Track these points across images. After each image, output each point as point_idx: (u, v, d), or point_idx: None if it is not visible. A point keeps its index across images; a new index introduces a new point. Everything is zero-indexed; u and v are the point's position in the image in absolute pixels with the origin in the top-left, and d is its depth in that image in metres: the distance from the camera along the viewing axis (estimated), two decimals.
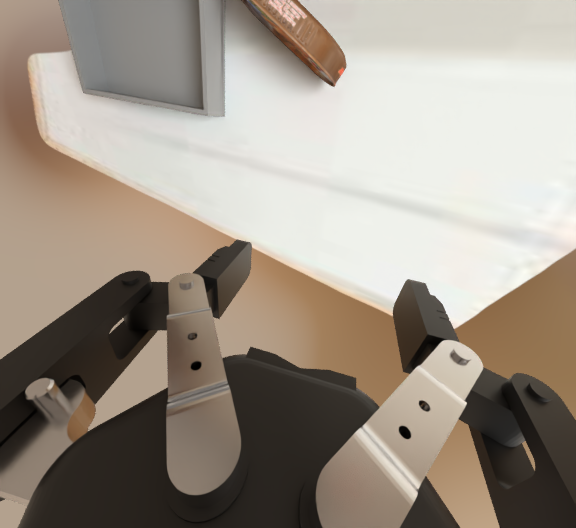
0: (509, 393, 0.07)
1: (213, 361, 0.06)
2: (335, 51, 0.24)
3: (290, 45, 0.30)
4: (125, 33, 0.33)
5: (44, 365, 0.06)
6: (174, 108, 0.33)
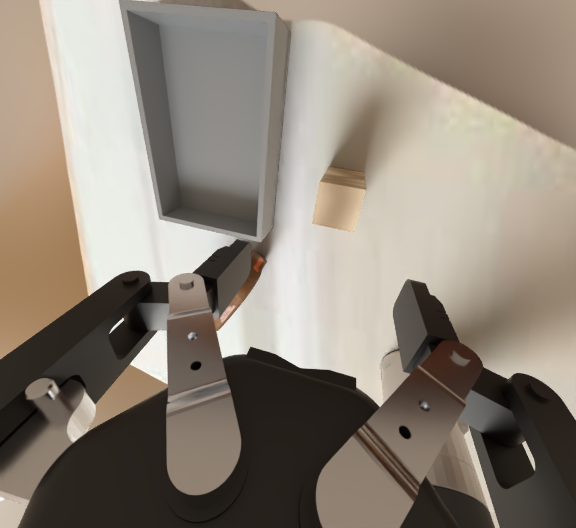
0: (509, 393, 0.07)
1: (214, 361, 0.06)
2: None
3: None
4: (226, 94, 0.25)
5: (44, 365, 0.06)
6: (153, 179, 0.28)
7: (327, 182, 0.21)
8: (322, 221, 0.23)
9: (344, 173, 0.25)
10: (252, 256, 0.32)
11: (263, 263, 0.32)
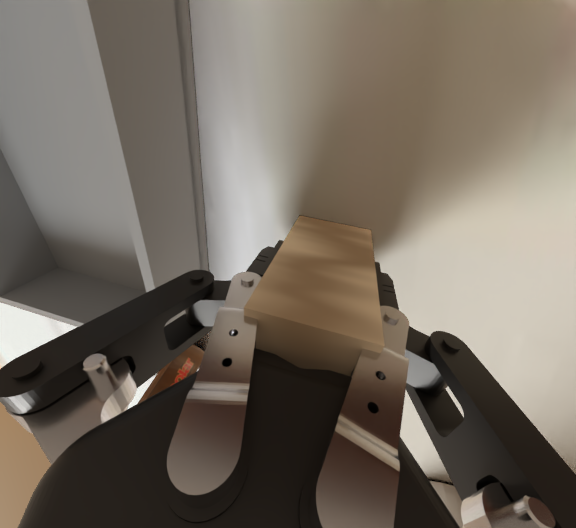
0: (431, 353, 0.08)
1: (244, 364, 0.06)
2: None
3: None
4: (66, 63, 0.11)
5: (105, 341, 0.06)
6: None
7: (267, 309, 0.07)
8: None
9: (327, 241, 0.11)
10: (169, 364, 0.18)
11: (191, 373, 0.18)
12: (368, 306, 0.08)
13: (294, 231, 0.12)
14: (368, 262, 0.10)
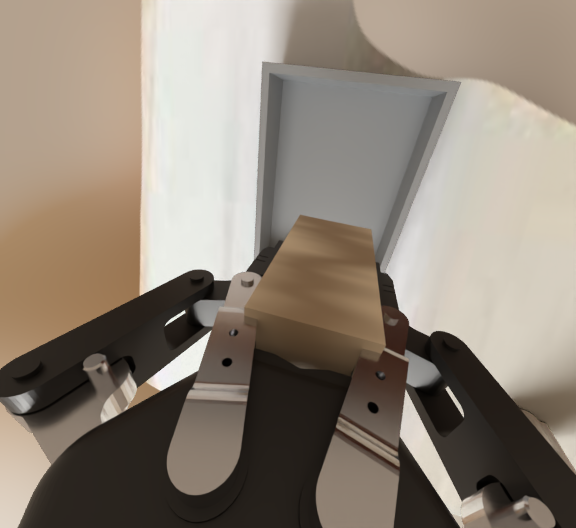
0: (431, 353, 0.08)
1: (244, 364, 0.06)
2: None
3: None
4: (350, 151, 0.23)
5: (105, 341, 0.06)
6: (256, 239, 0.26)
7: (267, 308, 0.07)
8: None
9: (328, 241, 0.11)
10: None
11: None
12: (369, 305, 0.08)
13: (294, 230, 0.12)
14: (369, 261, 0.10)
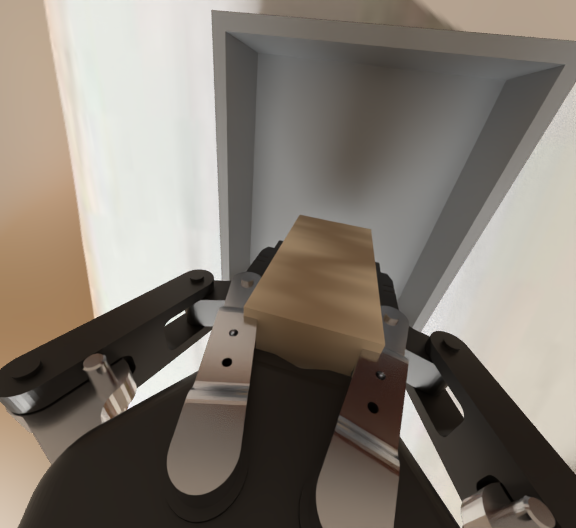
0: (431, 353, 0.08)
1: (244, 364, 0.06)
2: None
3: None
4: (362, 166, 0.15)
5: (105, 341, 0.06)
6: None
7: (266, 308, 0.07)
8: None
9: (327, 241, 0.11)
10: None
11: None
12: (368, 305, 0.08)
13: (294, 230, 0.12)
14: (368, 261, 0.10)
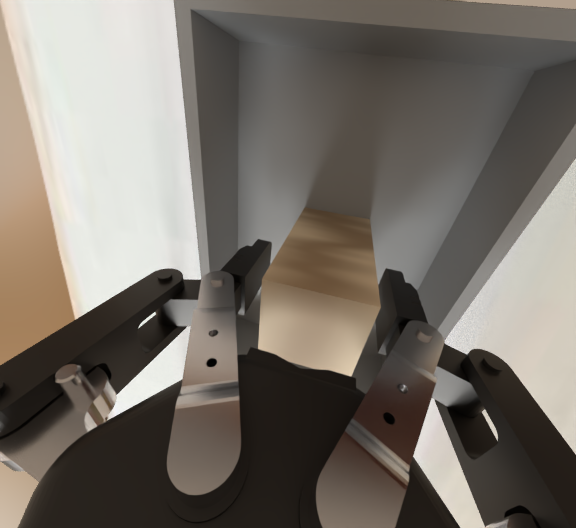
0: (468, 369, 0.07)
1: (229, 361, 0.06)
2: None
3: None
4: (361, 172, 0.13)
5: (76, 351, 0.06)
6: None
7: (281, 280, 0.08)
8: (279, 352, 0.10)
9: (330, 229, 0.12)
10: None
11: None
12: (367, 279, 0.09)
13: (300, 220, 0.13)
14: (367, 245, 0.11)
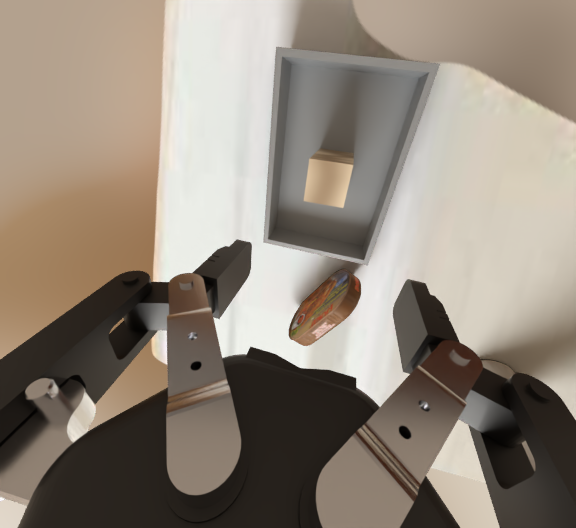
0: (509, 393, 0.07)
1: (213, 361, 0.06)
2: None
3: (320, 289, 0.40)
4: (349, 127, 0.27)
5: (44, 365, 0.06)
6: (266, 207, 0.30)
7: (316, 159, 0.22)
8: (313, 198, 0.24)
9: (334, 153, 0.26)
10: (350, 276, 0.33)
11: (359, 282, 0.34)
12: (349, 161, 0.23)
13: (319, 150, 0.27)
14: (351, 157, 0.25)
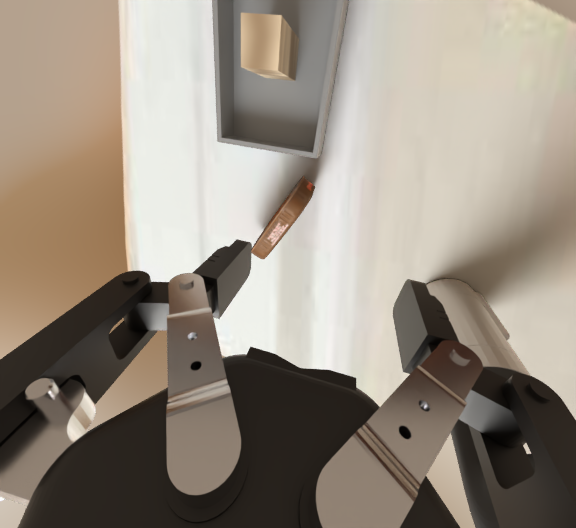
0: (509, 393, 0.07)
1: (214, 361, 0.06)
2: (260, 257, 0.39)
3: (281, 208, 0.40)
4: (292, 9, 0.27)
5: (44, 365, 0.06)
6: (217, 97, 0.30)
7: None
8: (249, 62, 0.24)
9: None
10: (304, 178, 0.34)
11: (313, 186, 0.34)
12: None
13: None
14: None
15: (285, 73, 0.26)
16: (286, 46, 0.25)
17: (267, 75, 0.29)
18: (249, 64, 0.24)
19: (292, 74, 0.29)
